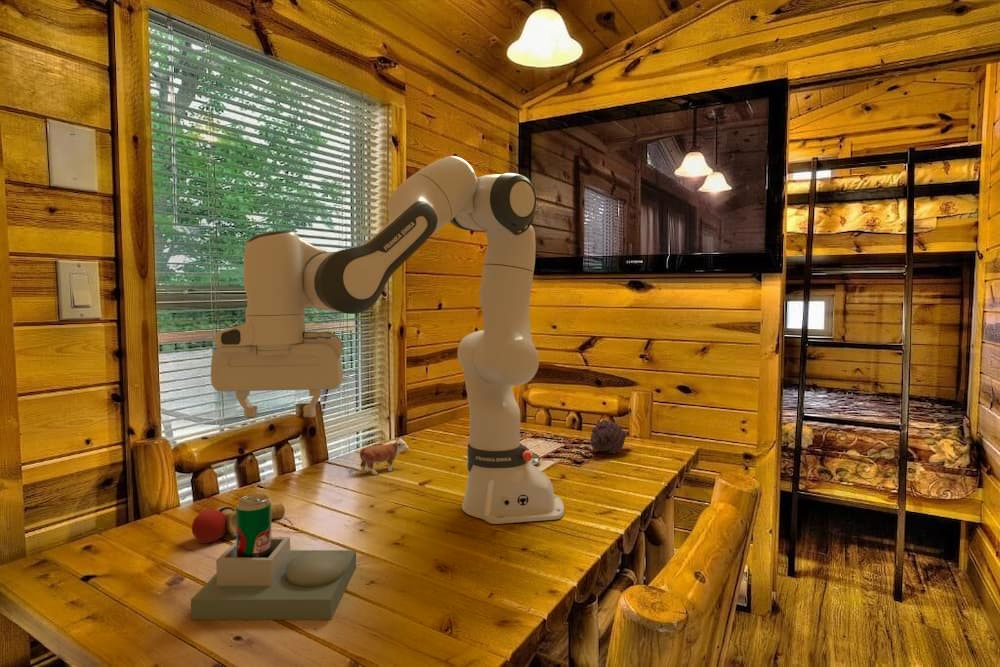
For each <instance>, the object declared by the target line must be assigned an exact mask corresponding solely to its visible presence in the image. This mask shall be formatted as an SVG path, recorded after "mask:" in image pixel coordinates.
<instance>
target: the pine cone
mask: <svg viewBox="0 0 1000 667" xmlns="http://www.w3.org/2000/svg"><path fill="white" fill-rule="evenodd" d="M629 435H630V431H627V430H623V428H622V427H621V426H620V425H618V423H616V422H613V421H612V420H606V419H604V420H602V421H601V422H599V421H598V422H596V424H595V427H593V428H592V429H591V434H590V438H589V440H590V441H589V443H590V445H591V447H592V448H593V450H596V451H599V452H605V453H608V454H616V453H617V452H618V453H620V452H621V451H622V449H623V447H624V445H625V440H626V438H627V437H628V436H629Z"/></svg>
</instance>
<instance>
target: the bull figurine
mask: <svg viewBox="0 0 1000 667" xmlns="http://www.w3.org/2000/svg"><path fill="white" fill-rule="evenodd" d="M408 450H409V446H408V445H407V443H406V442H405V441H404V440H403V439H402V438H399V439H398V440H394V439H393V440H390V441H389V442H385V443H383V444H380V445H374V446H369V447H363V448H362V449H361V450H360V452H359V458H360V460H361V463H360V468H361V473H363V475H364V474H366V475H367V472H369V471H371V473H372V474H373V475H378V474H379V472H377V470H376V469H375V468H374V463H375V464H376V465H377V466H379V465H380V463H383V462H387V465H388V468H387V471H388V472H393V470H392V469H393V468H394V467H393V462H394V460H395V459H396V458H397V457H398V455H399V454H400V453H401V452H403V451H408Z"/></svg>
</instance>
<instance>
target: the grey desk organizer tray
mask: <svg viewBox="0 0 1000 667" xmlns="http://www.w3.org/2000/svg"><path fill="white" fill-rule="evenodd" d="M215 562H216V564H215V566H216V570H215V571H216V573H215V574H214V575H212V577H211V578H210V579H209V580H208V581H207V582H206V583H205V584H204V585H203V586H202V587H201V589H199V590H198V591H197V593H195V595H194V596H192V597H191V598H190V618H191V620H192V621H193V620H195V621H196V620H198V621H199V620H202V621H203V620H206V621H207V620H208V621H209V620H210V621H211V620H212V621H213V620H215V621H216V620H217V621H218V620H220V621H221V620H226V621H227V620H228V621H229V620H231V621H232V620H233V621H235V620H236V621H237V620H243V621H245V620H246V621H248V620H252V621H253V620H255V621H258V620H259V621H260V620H261V621H262V620H267V621H268V620H269V621H271V620H274V621H275V620H277V621H279V620H280V621H281V620H282V621H283V620H284V621H285V620H286V621H287V620H288V621H290V620H292V621H293V620H295V621H297V620H299V621H300V620H302V621H303V620H309V621H310V620H313V621H316V620H317V621H319V620H320V621H325V620H326V621H327V620H332V618H333V617H334V615H335V613H336V610H337V608H338V606H339V605H340V602H341V600H342V598H343V597H344V596H343V595H344V593H345V591H346V589H347V587H348V585H349V583H350V581H351V579H352V577H353V575H354V573H355V571H356V569H357V550H354V549H353V550H350V549H349V550H348V549H346V550H345V549H344V550H339V549H338V550H337V549H336V550H331V549H330V550H328V549H327V550H326V549H325V550H321V549H320V550H319V549H318V550H314V549H309V550H307V549H306V550H303V549H302V550H301V549H299V550H298V549H296V550H295V549H293V550H292V549H291V537H289V536H272V554H271V555H270V556H269V557H268V558H237V544H236V540H235V541H234V542H233V543H232V544H231V545H229V547H228V548H226V550H225V551H224V552H223V553H222V554H221V555H219V557H218V558H217V559H215Z"/></svg>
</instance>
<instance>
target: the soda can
mask: <svg viewBox="0 0 1000 667" xmlns="http://www.w3.org/2000/svg"><path fill="white" fill-rule="evenodd" d="M237 502H238V503H237V504H236V507H235V511H236V534H235V535H236V540H235V541H236V544H237V558H268V557H269V556H270V555H271V554H272V537H273V536H272V535H273V534H272V519H271V506H272V503H271V501H270V499H269V496H268V495H267V494H262V493H261V494H260V493H256V494H248V495H245V496H242V497H241V498H239V499H238V500H237Z"/></svg>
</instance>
